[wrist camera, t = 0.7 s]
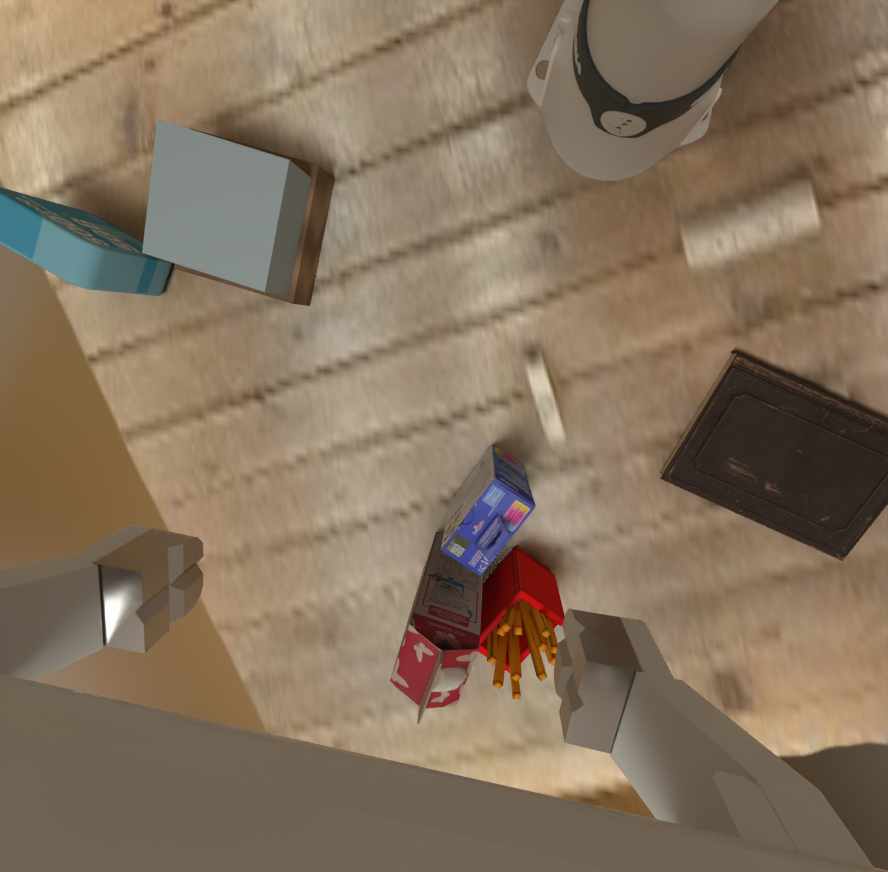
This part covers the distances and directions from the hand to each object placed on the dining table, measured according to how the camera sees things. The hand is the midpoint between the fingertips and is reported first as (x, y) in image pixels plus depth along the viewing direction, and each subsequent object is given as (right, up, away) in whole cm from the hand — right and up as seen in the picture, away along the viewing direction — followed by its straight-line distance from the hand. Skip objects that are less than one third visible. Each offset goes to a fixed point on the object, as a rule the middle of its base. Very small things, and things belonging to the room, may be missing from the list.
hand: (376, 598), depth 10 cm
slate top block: (-20, +26, +37) cm, 50 cm away
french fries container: (+11, -16, +49) cm, 53 cm away
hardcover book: (+41, +1, +42) cm, 58 cm away
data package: (-37, +26, +44) cm, 63 cm away
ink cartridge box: (+7, -3, +46) cm, 47 cm away
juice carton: (+3, -13, +49) cm, 51 cm away
